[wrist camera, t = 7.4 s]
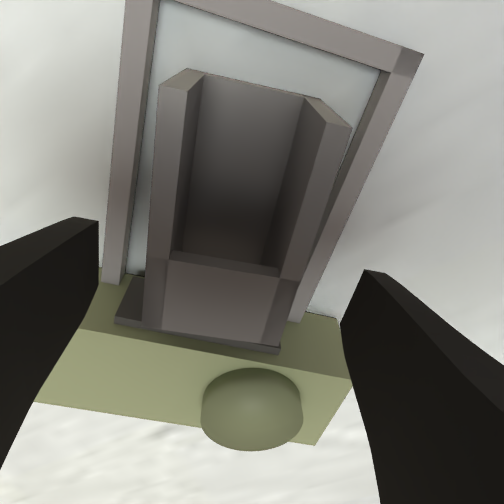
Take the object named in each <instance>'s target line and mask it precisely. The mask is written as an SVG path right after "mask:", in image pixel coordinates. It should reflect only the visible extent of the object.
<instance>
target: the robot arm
mask: <svg viewBox="0 0 504 504" xmlns="http://www.w3.org/2000/svg"><path fill="white" fill-rule="evenodd" d="M98 285H99V221H95V220H90V219H84V218H79V217H71V218H68V219H65V220H63V221H60V222H57V223H55V224H53V225H50V226H48V227H45V228H43V229H41V230H38V231H36V232H33V233H31V234H29V235H26V236H24V237H21V238H19V239H16V240H14V241H12V242H9V243H7V244H4V245H2V246H0V469H1V467H2V465H3V463H4V461H5V458H6V456H7V454H8V452H9V450H10V448H11V446H12V444H13V442H14V439H15V437H16V435H17V433H18V431H19V429H20V427H21V425H22V423H23V421H24V419H25V417H26V415H27V413H28V411H29V409H30V407H31V405H32V403H33V401H34V400H35V398H36V396H37V394H38V393H39V391H40V389H41V388H42V386H43V384H44V383H45V381H46V379H47V378H48V376H49V375H50V373H51V371H52V370H53V368H54V366H55V365H56V363H57V362H58V360H59V358H60V357H61V355H62V354H63V352H64V350H65V349H66V347H67V345H68V344H69V342H70V341H71V339H72V337H73V336H74V334H75V332H76V331H77V329H78V327H79V326H80V324H81V322H82V321H83V319H84V317H85V315H86V313H87V311H88V309H89V307H90V304H91V302H92V300H93V297H94V295H95V293H96V290H97V288H98ZM340 329H341V338H342V345H343V351H344V357H345V361H346V364H347V368H348V371H349V375H350V378H351V382H352V385H353V389H354V392H355V395H356V399H357V402H358V405H359V409H360V412H361V416H362V419H363V422H364V426H365V429H366V433H367V437H368V441H369V445H370V449H371V453H372V459H373V464H374V469H375V475H376V480H377V485H378V491H379V497H380V503H381V504H504V365H503V364H501V363H500V362H498V361H497V360H495V359H494V358H493V357H491V356H490V355H488V354H487V353H486V352H484V351H483V350H482V349H480V348H479V347H478V346H476V345H475V344H474V343H473V342H471V341H470V340H469V339H467V338H466V337H465V336H463V335H462V334H461V333H460V332H458V331H457V330H456V329H454V328H453V327H452V326H451V325H449V324H448V323H447V322H446V321H445V320H443V319H442V318H441V317H440V316H438V315H437V314H436V313H435V312H434V311H432V310H431V309H430V308H429V307H428V306H426V305H425V304H424V303H423V302H422V301H420V300H419V299H418V298H417V297H416V296H414V295H413V294H412V293H411V292H410V291H408V290H407V289H406V288H405V287H403V286H402V285H401V284H400V283H398V282H397V281H396V280H394V279H393V278H392V277H390V276H389V275H387V274H386V273H381V272H376V271H370V270H365V269H364V271H363V274H362V276H361V278H360V280H359V283H358V285H357V287H356V289H355V291H354V294H353V296H352V298H351V300H350V303H349V305H348V307H347V309H346V311H345V314H344V316H343V318H342V320H341V322H340Z"/></svg>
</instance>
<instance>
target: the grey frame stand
mask: <svg viewBox="0 0 504 504" xmlns="http://www.w3.org/2000/svg"><path fill="white" fill-rule="evenodd" d="M174 1H177V2H180V3H183V4H186V5H189V6H192V7H195V8H198V9H201V10H204V11H207V12H210V13H213V14H216V15H219V16H222V17H225V18H228V19H231V20H234V21H237V22H240V23H243V24H246V25H249V26H252V27H255V28H258V29H261V30H264V31H267V32H270V33H273V34H276V35H279V36H282V37H285V38H288V39H291V40H294V41H297V42H300V43H303V44H306V45H309V46H312V47H315V48H318V49H321V50H324V51H327V52H330V53H333V54H336V55H339V56H342V57H345V58H348V59H351V60H354V61H357V62H360V63H363V64H366V65H369V66H372V67H375V68H378V69H381V70H382V71H381V73H380V76H379V78H378V80H377V83H376V85H375V88H374V90H373V92H372V95H371V97H370V99H369V102H368V104H367V107H366V109H365V111H364V114H363V116H362V119H361V121H360V123H359V126H358V128H357V130H356V133H355V135H354V138H353V140H352V142H351V145H350V147H349V150H348V152H347V154H346V157H345V159H344V162H343V164H342V166H341V169H340V171H339V173H338V176H337V178H336V181H335V183H334V185H333V188H332V190H331V193H330V196H329V199H328V202H327V204H326V207H325V210H324V213H323V216H322V219H321V222H320V225H319V228H318V231H317V234H316V237H315V240H314V243H313V246H312V249H311V252H310V254H309V257H308V260H307V263H306V266H305V269H304V272H303V275H302V278H301V281H300V284H299V287H298V290H297V293H296V296H295V299H294V302H293V304H292V307H291V310H290V313H289V316H288V319H287V322H286V325H285V328H284V331H283V334H282V337H281V340H280V343H279V346H272V345H265V344H258V343H251V342H244V341H237V340H230V339H223V338H216V337H209V336H202V335H195V334H188V333H181V332H174V331H167V330H160V329H153V328H146V327H141V323H142V310H143V296H144V282H145V277H140V276H136V275H131V274H126V273H125V269H126V261H127V253H128V245H129V238H130V230H131V222H132V214H133V206H134V198H135V190H136V183H137V175H138V167H139V159H140V151H141V143H142V135H143V128H144V120H145V112H146V104H147V96H148V88H149V80H150V73H151V65H152V57H153V49H154V41H155V33H156V25H157V18H158V10H159V2H160V0H126V1H125V13H124V24H123V35H122V47H121V58H120V70H119V81H118V92H117V104H116V115H115V127H114V138H113V149H112V161H111V172H110V184H109V195H108V206H107V218H106V229H105V241H104V252H103V263H102V268H99V285H98V288H97V290H96V293H95V295H94V297H93V300H92V302H91V304H90V307H89V309H88V311H87V313H86V315H85V317H84V319H83V321H82V322H81V324H80V326H79V327H78V329H77V331H76V332H75V334H74V336H73V337H72V339H71V341H70V342H69V344H68V345H67V347H66V349H65V350H64V352H63V354H62V355H61V357H60V358H59V360H58V362H57V363H56V365H55V366H54V368H53V370H52V371H51V373H50V375H49V376H48V378H47V379H46V381H45V383H44V384H43V386H42V388H41V389H40V391H39V393H38V394H37V396H36V398H35V400H34V401H33V402H39V403H45V404H52V405H58V406H64V407H71V408H77V409H84V410H90V411H96V412H103V413H109V414H116V415H122V416H128V417H135V418H141V419H147V420H154V421H160V422H167V423H173V424H179V425H186V426H192V427H199V428H202V429H203V431H204V432H205V434H206V435H207V436H208V437H209V438H210V439H211V440H213V441H214V442H216V443H217V444H219V445H221V446H224V447H227V448H230V449H234V450H240V451H262V450H268V449H272V448H275V447H278V446H281V445H283V444H285V443H287V442H295V443H301V444H307V445H314V446H315V445H316V443H317V441H318V440H319V438H320V437H321V435H322V433H323V432H324V430H325V429H326V427H327V426H328V424H329V422H330V421H331V419H332V418H333V416H334V415H335V413H336V411H337V410H338V408H339V407H340V405H341V404H342V402H343V400H344V399H345V397H346V396H347V394H348V393H349V391H350V389H351V388H352V386H353V385H352V382H351V378H350V375H349V371H348V368H347V364H346V361H345V357H344V351H343V345H342V338H341V331H340V328H339V325H338V322H337V319H336V318H331V317H326V316H322V315H317V314H312V313H308V312H305V311H306V309H307V306H308V304H309V302H310V300H311V298H312V296H313V293H314V291H315V289H316V287H317V285H318V283H319V280H320V278H321V276H322V274H323V272H324V270H325V268H326V265H327V263H328V261H329V259H330V257H331V255H332V252H333V250H334V248H335V246H336V244H337V242H338V239H339V237H340V235H341V233H342V231H343V229H344V226H345V224H346V222H347V220H348V218H349V216H350V214H351V211H352V209H353V207H354V205H355V203H356V201H357V198H358V196H359V194H360V192H361V190H362V188H363V185H364V183H365V181H366V179H367V177H368V175H369V172H370V170H371V168H372V166H373V164H374V162H375V160H376V157H377V155H378V153H379V151H380V149H381V147H382V144H383V142H384V140H385V138H386V136H387V134H388V131H389V129H390V127H391V125H392V123H393V121H394V119H395V116H396V114H397V112H398V110H399V108H400V106H401V103H402V101H403V99H404V97H405V95H406V93H407V90H408V88H409V86H410V84H411V82H412V80H413V77H414V75H415V73H416V71H417V69H418V67H419V65H420V62H421V60H422V58H423V56H424V54H423V53H420V52H417V51H414V50H411V49H408V48H406V47H403V46H400V45H397V44H394V43H391V42H388V41H385V40H383V39H380V38H377V37H374V36H371V35H368V34H365V33H362V32H360V31H357V30H354V29H351V28H348V27H345V26H342V25H340V24H337V23H334V22H331V21H328V20H325V19H322V18H319V17H317V16H314V15H311V14H308V13H305V12H302V11H299V10H296V9H294V8H291V7H288V6H285V5H282V4H279V3H276V2H273V1H271V0H174Z"/></svg>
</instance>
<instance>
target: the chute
mask: <svg viewBox="0 0 504 504" xmlns="http://www.w3.org/2000/svg"><path fill="white" fill-rule="evenodd" d="M351 131H352V127H351V126H350V125H349V124H348V123H346V122H345V121H344V120H343V119H342V118H341V117H340V116H339V115H338V114H336V113H335V112H334V111H333V110H332V109H331V108H330V107H329V106H327V105H326V104H325V103H324V102H323V101H322V100H321V99H319V98H315V97H310V96H306V95H301V94H297V93H293V92H288V91H284V90H279V89H275V88H271V87H266V86H262V85H258V84H253V83H249V82H244V81H240V80H236V79H231V78H227V77H223V76H218V75H214V74H209V73H205V72H201V71H196V70H192V69H188V68H186V69H185V70H183V71H181V72H180V73H178V74H176V75H175V76H173V77H171V78H170V79H168V80H166V81H165V82H163V83H161V84H160V85H159V89H158V103H157V117H156V131H155V145H154V158H153V172H152V186H151V200H150V213H149V227H148V241H147V255H146V268H145V282H144V296H143V310H142V323H141V327H146V328H153V329H160V330H167V331H174V332H181V333H188V334H195V335H202V336H209V337H216V338H223V339H230V340H237V341H244V342H251V343H258V344H265V345H272V346H279V343H280V340H281V337H282V334H283V331H284V328H285V325H286V322H287V319H288V316H289V313H290V310H291V307H292V304H293V302H294V299H295V296H296V293H297V290H298V287H299V284H300V281H301V278H302V275H303V272H304V269H305V266H306V263H307V260H308V257H309V254H310V252H311V249H312V246H313V243H314V240H315V237H316V234H317V231H318V228H319V225H320V222H321V219H322V216H323V213H324V210H325V207H326V204H327V202H328V199H329V196H330V193H331V190H332V187H333V184H334V181H335V178H336V175H337V172H338V169H339V166H340V163H341V160H342V157H343V154H344V152H345V149H346V146H347V143H348V140H349V137H350V134H351Z"/></svg>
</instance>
